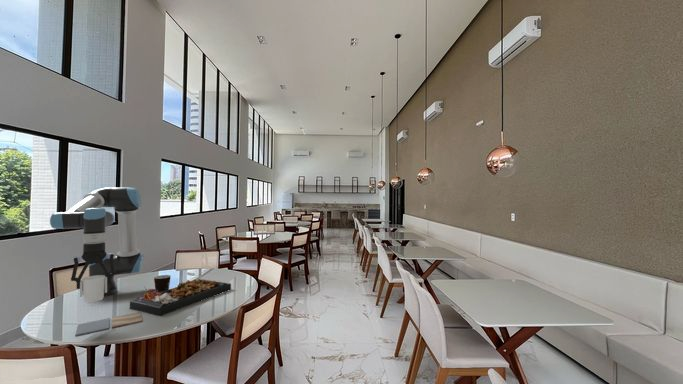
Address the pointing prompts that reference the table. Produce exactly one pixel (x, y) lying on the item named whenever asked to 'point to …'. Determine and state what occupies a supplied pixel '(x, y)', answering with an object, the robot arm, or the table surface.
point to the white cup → (93, 288)
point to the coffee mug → (162, 282)
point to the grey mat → (92, 327)
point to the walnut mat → (126, 319)
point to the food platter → (178, 296)
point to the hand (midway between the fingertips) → (93, 293)
